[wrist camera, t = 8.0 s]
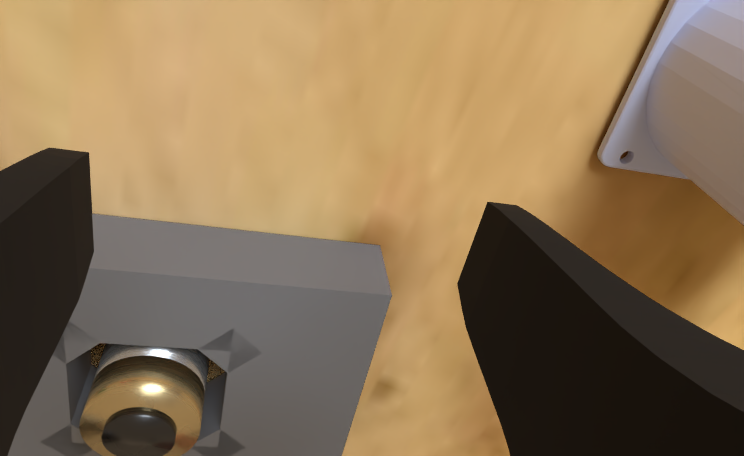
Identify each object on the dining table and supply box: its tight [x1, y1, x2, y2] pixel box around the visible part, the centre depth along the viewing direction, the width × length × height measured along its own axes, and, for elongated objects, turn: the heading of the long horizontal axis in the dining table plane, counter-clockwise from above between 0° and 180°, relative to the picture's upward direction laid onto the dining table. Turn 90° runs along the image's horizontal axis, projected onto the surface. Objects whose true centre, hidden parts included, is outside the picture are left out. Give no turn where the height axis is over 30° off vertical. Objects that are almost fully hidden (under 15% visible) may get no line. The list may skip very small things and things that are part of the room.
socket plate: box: [8, 214, 392, 456], centre depth 23 cm, size 16×12×3 cm
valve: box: [79, 343, 210, 456], centre depth 22 cm, size 4×4×5 cm
